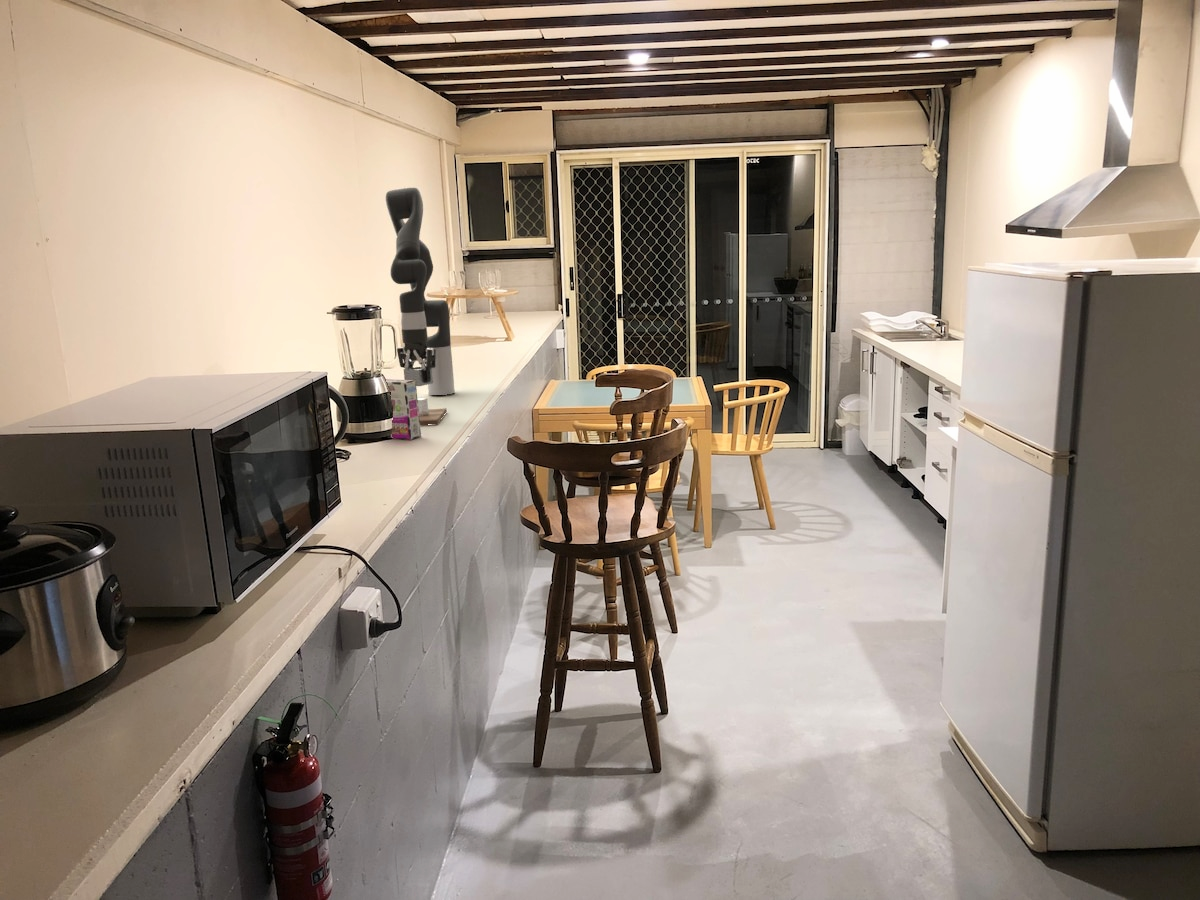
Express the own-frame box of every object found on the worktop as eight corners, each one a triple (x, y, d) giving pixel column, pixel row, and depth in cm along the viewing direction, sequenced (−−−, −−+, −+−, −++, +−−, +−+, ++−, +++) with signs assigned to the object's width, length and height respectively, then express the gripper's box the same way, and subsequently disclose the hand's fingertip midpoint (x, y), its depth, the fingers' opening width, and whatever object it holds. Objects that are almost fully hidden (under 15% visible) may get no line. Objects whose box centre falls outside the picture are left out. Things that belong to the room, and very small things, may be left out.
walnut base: (409, 414, 288) (409, 410, 287) (446, 412, 288) (446, 408, 287) (397, 426, 270) (397, 421, 270) (437, 424, 270) (437, 420, 270)
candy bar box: (422, 436, 256) (416, 379, 252) (410, 440, 251) (405, 382, 248) (391, 434, 261) (385, 378, 257) (380, 438, 257) (374, 381, 253)
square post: (416, 416, 278) (415, 399, 277) (422, 414, 281) (420, 398, 279) (422, 416, 277) (421, 400, 276) (428, 415, 279) (427, 398, 278)
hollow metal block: (405, 385, 275) (403, 369, 274) (418, 382, 280) (417, 366, 279) (419, 386, 272) (418, 369, 271) (433, 383, 277) (431, 367, 276)
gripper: (387, 328, 273) (393, 382, 277) (423, 328, 265) (428, 385, 269) (405, 325, 279) (410, 379, 283) (440, 326, 272) (445, 381, 276)
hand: (419, 381), depth 276 cm, fingers closed on hollow metal block, 6 cm apart
